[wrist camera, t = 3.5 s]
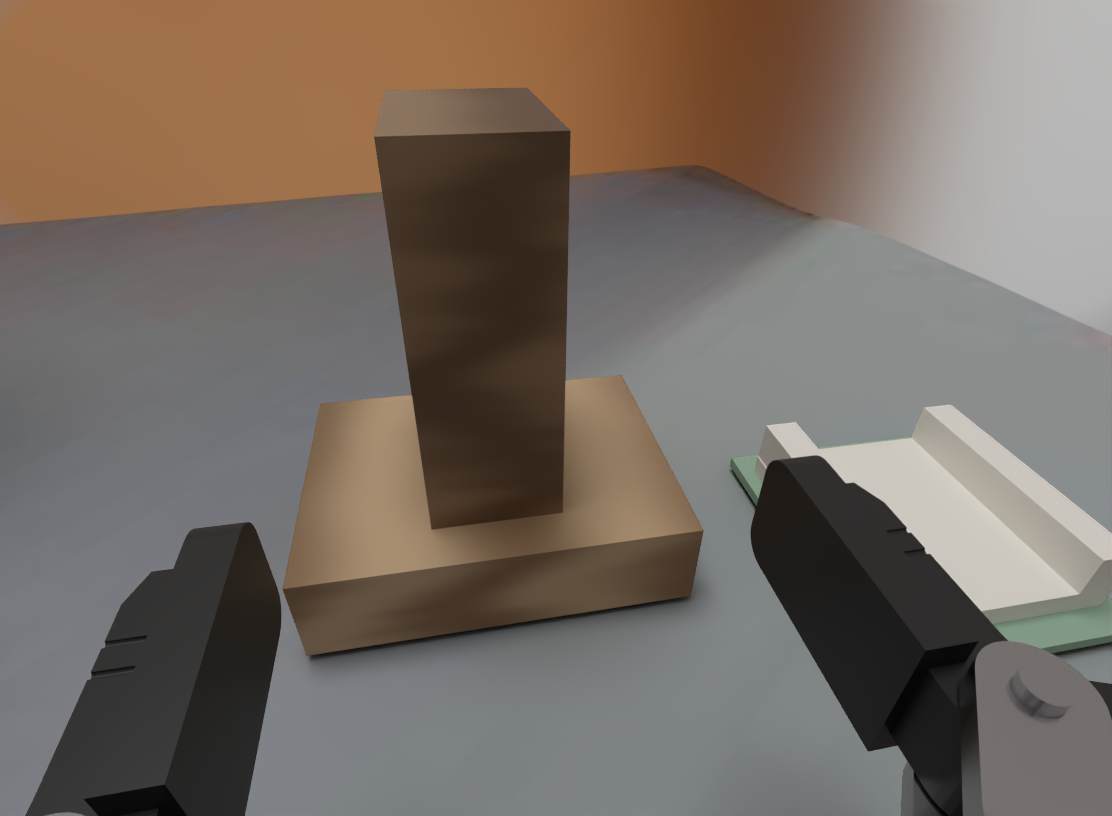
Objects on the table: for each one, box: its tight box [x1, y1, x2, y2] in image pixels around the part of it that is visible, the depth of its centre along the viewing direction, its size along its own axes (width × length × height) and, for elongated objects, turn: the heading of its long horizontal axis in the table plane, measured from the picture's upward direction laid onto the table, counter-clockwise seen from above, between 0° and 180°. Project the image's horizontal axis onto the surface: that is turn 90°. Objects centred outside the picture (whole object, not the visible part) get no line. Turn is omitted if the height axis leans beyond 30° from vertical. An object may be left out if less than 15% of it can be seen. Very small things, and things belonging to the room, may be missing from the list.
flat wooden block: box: [283, 375, 704, 656], centre depth 22 cm, size 12×9×3 cm
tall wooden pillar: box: [374, 88, 570, 530], centre depth 18 cm, size 4×6×11 cm, turn 11°
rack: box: [754, 405, 1112, 624], centre depth 22 cm, size 8×8×2 cm
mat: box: [730, 436, 1112, 653], centre depth 23 cm, size 9×10×1 cm
